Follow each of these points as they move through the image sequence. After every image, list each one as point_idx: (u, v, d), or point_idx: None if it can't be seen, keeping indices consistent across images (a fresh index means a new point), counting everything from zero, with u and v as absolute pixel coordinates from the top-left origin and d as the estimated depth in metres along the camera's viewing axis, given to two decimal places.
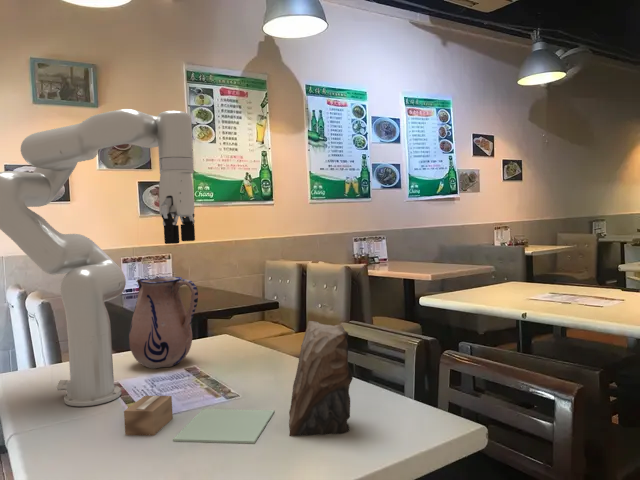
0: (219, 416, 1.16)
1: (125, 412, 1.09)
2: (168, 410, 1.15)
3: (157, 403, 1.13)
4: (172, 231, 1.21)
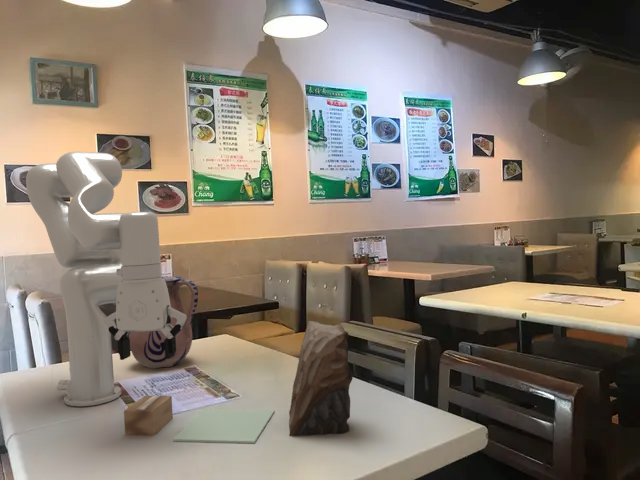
0: (219, 416, 1.16)
1: (125, 412, 1.09)
2: (168, 410, 1.15)
3: (157, 404, 1.13)
4: (175, 342, 1.12)
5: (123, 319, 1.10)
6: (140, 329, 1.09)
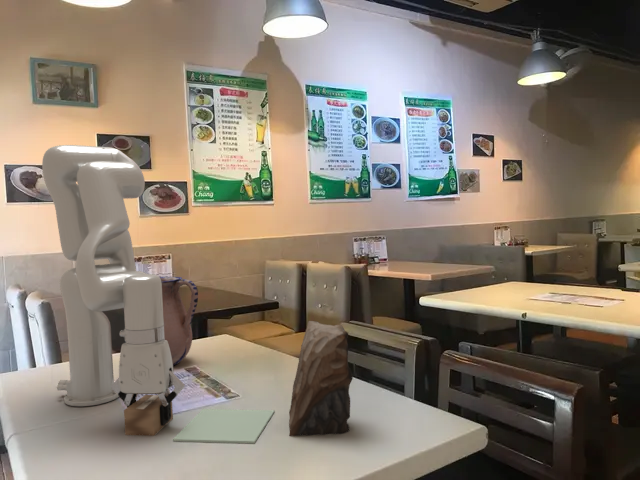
0: (219, 416, 1.16)
1: (125, 411, 1.09)
2: None
3: (157, 403, 1.12)
4: (170, 408, 1.13)
5: (126, 382, 1.11)
6: (142, 392, 1.10)
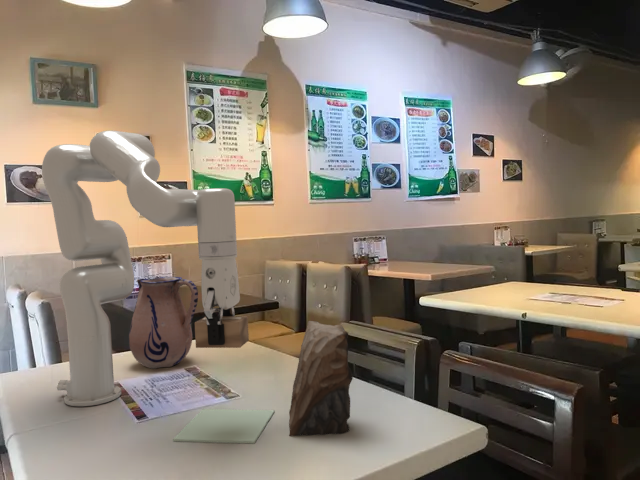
0: (219, 416, 1.16)
1: (239, 323, 1.08)
2: None
3: (226, 317, 1.13)
4: None
5: (228, 296, 1.07)
6: (234, 304, 1.11)
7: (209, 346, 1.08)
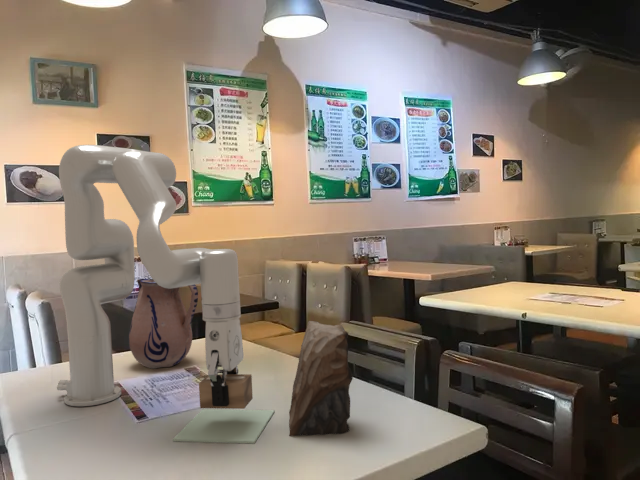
0: (219, 416, 1.16)
1: (243, 384, 1.08)
2: None
3: (230, 375, 1.13)
4: None
5: (232, 358, 1.08)
6: (237, 363, 1.11)
7: (213, 407, 1.09)
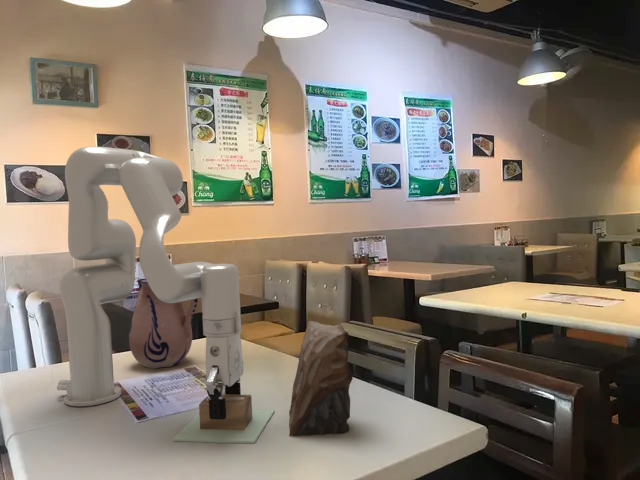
0: None
1: (243, 406, 1.09)
2: None
3: (230, 396, 1.14)
4: None
5: (232, 373, 1.08)
6: (238, 378, 1.11)
7: (213, 428, 1.09)
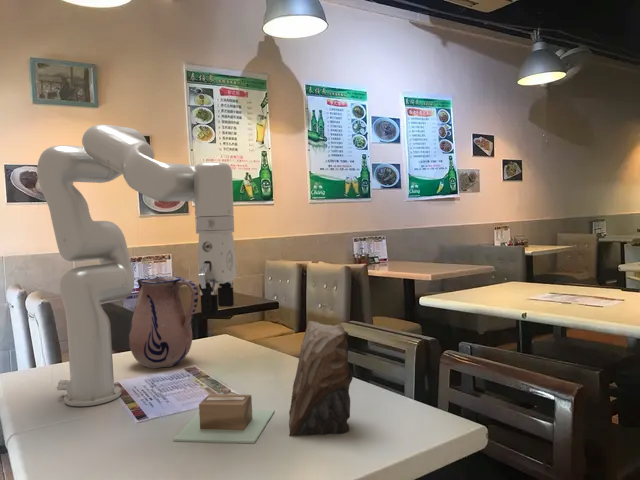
0: None
1: (243, 406, 1.09)
2: None
3: (230, 396, 1.14)
4: None
5: (224, 270, 1.07)
6: (230, 279, 1.11)
7: (213, 428, 1.09)
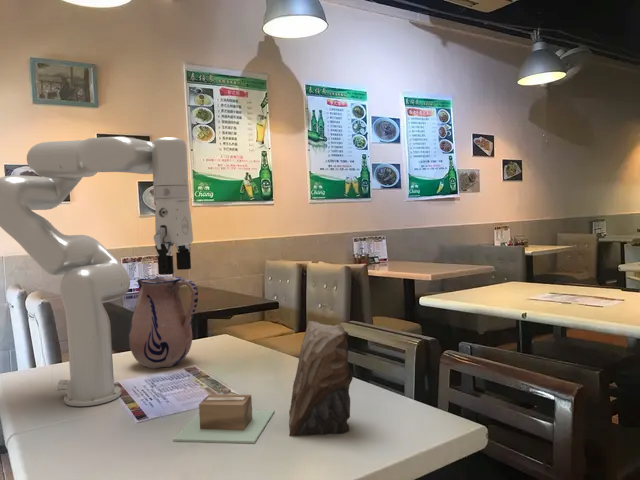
0: None
1: (243, 406, 1.09)
2: None
3: (230, 396, 1.14)
4: None
5: (179, 234, 1.19)
6: (186, 243, 1.23)
7: (213, 428, 1.09)
